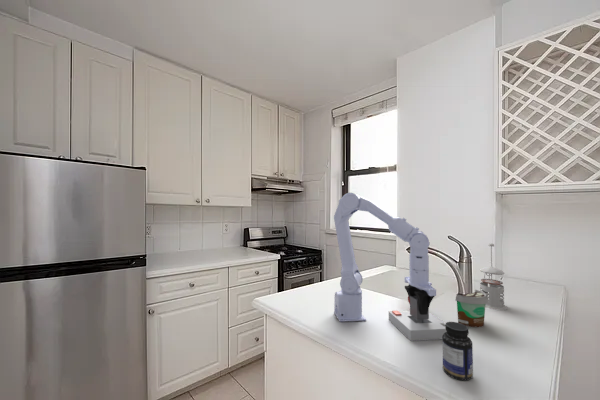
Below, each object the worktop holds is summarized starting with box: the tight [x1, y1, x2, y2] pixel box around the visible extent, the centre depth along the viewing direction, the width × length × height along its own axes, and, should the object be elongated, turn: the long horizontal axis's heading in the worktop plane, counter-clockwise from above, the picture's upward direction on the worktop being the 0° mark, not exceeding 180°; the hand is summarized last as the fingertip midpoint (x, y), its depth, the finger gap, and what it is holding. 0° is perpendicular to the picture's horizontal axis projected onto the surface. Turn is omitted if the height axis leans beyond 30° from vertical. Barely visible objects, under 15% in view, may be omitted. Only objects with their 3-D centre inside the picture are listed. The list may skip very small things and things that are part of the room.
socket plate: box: [388, 310, 447, 342], centre depth 83 cm, size 14×14×4 cm
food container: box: [455, 289, 489, 328], centre depth 87 cm, size 12×6×10 cm, turn 118°
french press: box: [479, 242, 508, 311], centre depth 105 cm, size 10×12×25 cm
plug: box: [409, 296, 430, 320], centre depth 83 cm, size 4×4×6 cm
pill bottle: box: [441, 321, 474, 381], centre depth 61 cm, size 6×6×11 cm
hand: (419, 311), depth 83 cm, fingers closed on plug, 4 cm apart
